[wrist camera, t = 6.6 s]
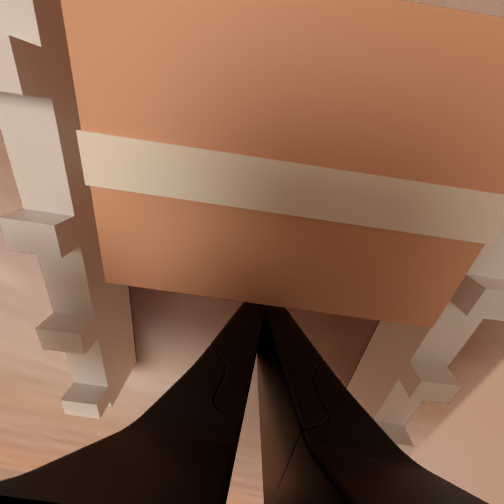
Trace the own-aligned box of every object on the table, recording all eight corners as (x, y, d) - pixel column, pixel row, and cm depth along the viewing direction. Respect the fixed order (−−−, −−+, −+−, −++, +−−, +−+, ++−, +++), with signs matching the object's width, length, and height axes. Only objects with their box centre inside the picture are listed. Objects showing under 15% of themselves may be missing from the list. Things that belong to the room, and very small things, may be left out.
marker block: (471, 75, 8) (626, 34, 4) (384, 269, 11) (436, 330, 7) (140, 21, 7) (43, -64, 4) (151, 236, 10) (101, 284, 7)
